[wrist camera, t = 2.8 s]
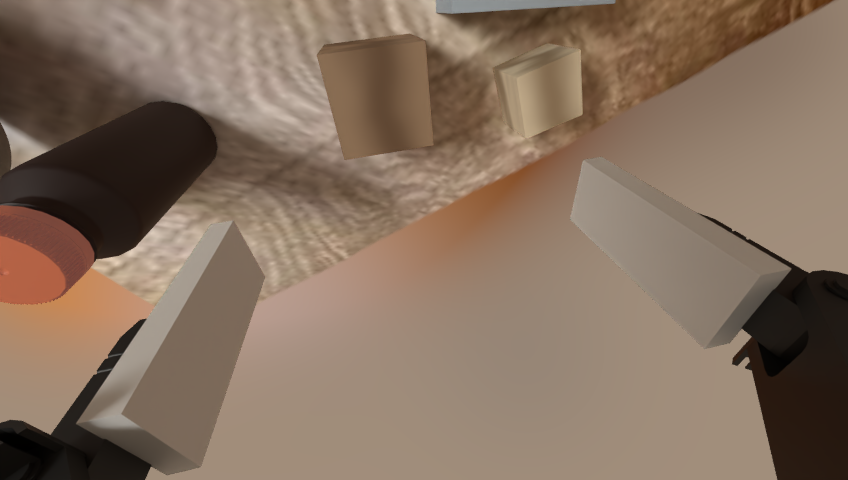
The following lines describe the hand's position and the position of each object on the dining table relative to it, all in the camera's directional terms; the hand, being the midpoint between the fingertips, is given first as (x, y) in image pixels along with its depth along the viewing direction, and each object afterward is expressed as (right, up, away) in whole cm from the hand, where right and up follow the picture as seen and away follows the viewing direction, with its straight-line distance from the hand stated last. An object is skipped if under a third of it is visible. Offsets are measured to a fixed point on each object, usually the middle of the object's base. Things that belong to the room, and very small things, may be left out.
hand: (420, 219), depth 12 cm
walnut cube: (-5, +15, +19) cm, 25 cm away
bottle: (-24, +10, +19) cm, 32 cm away
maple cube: (+11, +16, +22) cm, 30 cm away
